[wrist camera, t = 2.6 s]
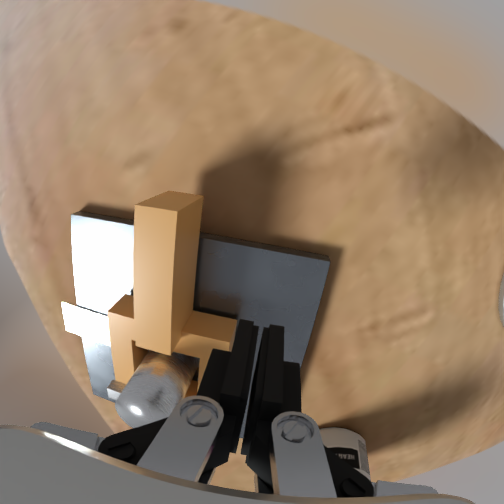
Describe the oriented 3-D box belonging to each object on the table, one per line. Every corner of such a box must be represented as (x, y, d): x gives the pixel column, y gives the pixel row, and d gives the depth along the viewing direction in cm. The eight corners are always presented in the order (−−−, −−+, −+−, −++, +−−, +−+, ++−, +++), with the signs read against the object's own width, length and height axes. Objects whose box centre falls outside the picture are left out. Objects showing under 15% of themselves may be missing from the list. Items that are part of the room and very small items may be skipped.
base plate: (328, 255, 22) (347, 323, 13) (275, 435, 29) (266, 507, 20) (64, 208, 23) (-13, 239, 15) (85, 382, 30) (45, 434, 22)
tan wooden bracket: (255, 203, 20) (243, 222, 15) (224, 402, 26) (212, 444, 21) (126, 184, 20) (85, 197, 16) (131, 376, 26) (108, 412, 22)
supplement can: (330, 470, 30) (331, 577, 16) (275, 450, 30) (259, 569, 16) (380, 437, 28) (398, 557, 14) (323, 413, 27) (325, 555, 13)
